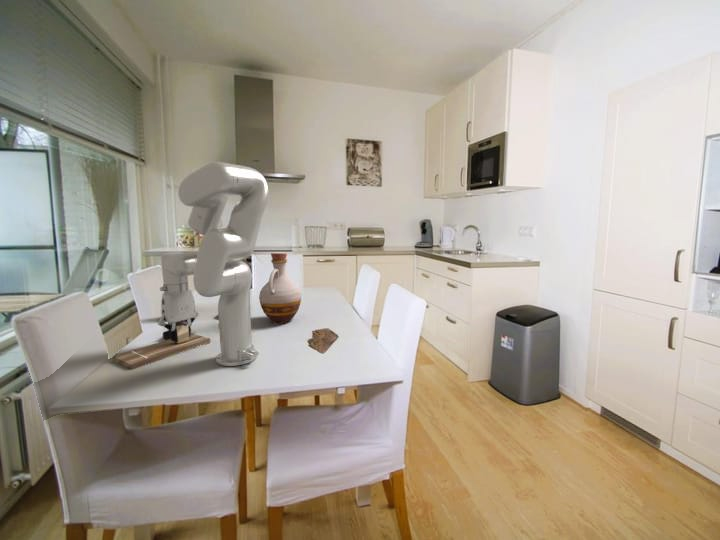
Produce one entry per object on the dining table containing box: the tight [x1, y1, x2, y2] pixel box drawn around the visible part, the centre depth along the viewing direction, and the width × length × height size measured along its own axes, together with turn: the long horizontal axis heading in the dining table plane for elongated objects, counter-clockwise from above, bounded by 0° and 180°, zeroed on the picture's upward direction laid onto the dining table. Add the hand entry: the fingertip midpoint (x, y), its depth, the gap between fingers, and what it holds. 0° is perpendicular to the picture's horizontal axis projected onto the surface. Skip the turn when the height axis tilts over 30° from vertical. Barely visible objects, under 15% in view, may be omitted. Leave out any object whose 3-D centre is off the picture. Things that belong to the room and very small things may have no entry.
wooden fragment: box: [307, 327, 339, 355], centre depth 126 cm, size 26×11×1 cm, turn 0°
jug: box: [258, 252, 302, 325], centre depth 146 cm, size 20×18×30 cm
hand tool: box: [162, 329, 170, 341], centre depth 135 cm, size 19×4×5 cm, turn 2°
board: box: [112, 332, 211, 370], centre depth 116 cm, size 12×26×2 cm, turn 148°
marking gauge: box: [173, 321, 189, 343], centre depth 120 cm, size 8×4×7 cm, turn 57°
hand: (180, 338), depth 120 cm, fingers closed on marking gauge, 4 cm apart
